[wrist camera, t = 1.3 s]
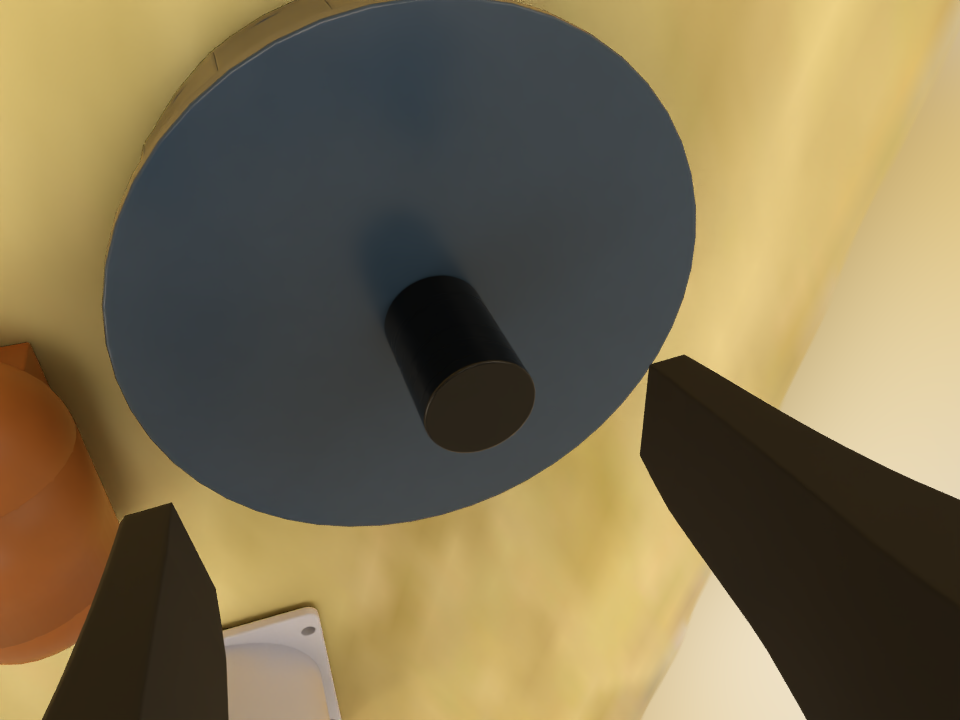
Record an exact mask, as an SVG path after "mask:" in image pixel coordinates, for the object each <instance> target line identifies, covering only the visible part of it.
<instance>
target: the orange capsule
mask: <svg viewBox="0 0 960 720" xmlns="http://www.w3.org/2000/svg"><path fill="white" fill-rule="evenodd" d="M118 527H119V522H118V520H117V517H116V515H115V513H114V510H113V508H112V506H111V504H110V501H109V499H108V497H107V494H106V492H105V490H104V488H103V485H102V483H101V481H100V479H99V476H98V474H97V472H96V469H95V467H94V465H93V463H92V460H91V458H90V456H89V453H88V451H87V449H86V447H85V444H84V442H83V440H82V438H81V435H80V433H79V431H78V428H77V426H76V424H75V422H74V420H73V418H72V416H71V414H70V412H69V411H68V409H67V408H66V406H65V404H64V403H63V401H62V400H61V399H60V398H59V397H58V396H57V395H56V394H55V393H54V392H53V391H52V390H51V389H50V387H49V385H48V382H47V380H46V378H45V376H44V374H43V371H42V369H41V367H40V365H39V362H38V360H37V358H36V356H35V354H34V351H33V349H32V347H31V345H30V343H28V342H26V343H20V344H15V345H9V346H3V347H0V664H1V665H11V664H24V663H29V662H34V661H38V660H41V659H44V658H46V657H49V656H52V655H55V654H57V653H59V652H61V651H63V650H65V649H67V648H69V647H71V646H72V645H74V644H75V643H76V641H77V639H78V637H79V634H80V632H81V629H82V627H83V624H84V622H85V620H86V617H87V615H88V612H89V609H90V607H91V604H92V601H93V599H94V596H95V593H96V591H97V588H98V586H99V583H100V580H101V577H102V574H103V572H104V569H105V566H106V563H107V560H108V557H109V554H110V551H111V549H112V546H113V543H114V540H115V536H116V533H117V530H118Z"/></svg>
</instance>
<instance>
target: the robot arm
mask: <svg viewBox="0 0 960 720" xmlns="http://www.w3.org/2000/svg"><path fill="white" fill-rule="evenodd" d="M640 456H641V458H642V460H643V462H644V464H645V466H646V468H647V470H648V472H649V474H650V476H651V478H652V480H653V482H654V484H655V486H656V487H657V489H658V491H659V493H660V495H661V496H662V498H663V500H664V502H665V504H666V506H667V507H668V509H669V511H670V512H671V514H672V515H673V517H674V518H675V519H676V521H677V522H678V524H679V525H680V527H681V528H682V529H683V531H684V532H685V534H686V535H687V537H688V538H689V539H690V541H691V542H692V544H693V545H694V547H695V548H696V549H697V551H698V552H699V554H700V555H701V556H702V558H703V559H704V561H705V562H706V563H707V565H708V566H709V568H710V569H711V570H712V572H713V573H714V575H715V576H716V577H717V579H718V580H719V581H720V583H721V584H722V586H723V587H724V588H725V590H726V591H727V593H728V594H729V595H730V597H731V598H732V600H733V601H734V602H735V604H736V605H737V607H738V608H739V609H740V610H741V612H742V614H743V615H744V616H745V618H746V619H747V621H748V622H749V623H750V625H751V626H752V628H753V629H754V631H755V633H756V634H757V635H758V637H759V639H760V640H761V642H762V643H763V645H764V646H765V648H766V649H767V651H768V652H769V654H770V656H771V658H772V660H773V661H774V663H775V665H776V666H777V668H778V670H779V672H780V673H781V675H782V677H783V679H784V680H785V682H786V684H787V685H788V687H789V689H790V691H791V693H792V694H793V696H794V698H795V699H796V701H797V703H798V705H799V707H800V708H801V710H802V712H803V714H804V716H805V718H806V719H807V720H960V500H959V499H957V498H954V497H952V496H950V495H947V494H945V493H943V492H940V491H938V490H935V489H933V488H931V487H929V486H926V485H924V484H922V483H919V482H917V481H914V480H912V479H910V478H908V477H906V476H903V475H902V474H899V473H897V472H895V471H893V470H891V469H889V468H887V467H885V466H883V465H881V464H879V463H876V462H875V461H873V460H870V459H869V458H867V457H865V456H863V455H861V454H859V453H857V452H855V451H853V450H851V449H849V448H846V447H845V446H843V445H841V444H839V443H837V442H835V441H834V440H831V439H830V438H828V437H826V436H824V435H822V434H820V433H819V432H817V431H815V430H813V429H811V428H810V427H808V426H806V425H804V424H802V423H800V422H799V421H797V420H795V419H793V418H792V417H790V416H788V415H786V414H785V413H783V412H781V411H780V410H778V409H776V408H774V407H773V406H771V405H769V404H767V403H766V402H764V401H762V400H761V399H759V398H757V397H756V396H754V395H752V394H751V393H749V392H747V391H746V390H744V389H742V388H740V387H739V386H737V385H735V384H734V383H732V382H730V381H729V380H727V379H725V378H724V377H722V376H720V375H719V374H717V373H715V372H714V371H712V370H710V369H709V368H707V367H705V366H703V365H702V364H700V363H698V362H697V361H695V360H693V359H691V358H689V357H688V356H686V355H681V356H678V357H674V358H671V359H667V360H664V361H661V362H657V363H654V364H650V365H649V373H648V382H647V392H646V401H645V411H644V421H643V430H642V440H641V449H640ZM42 720H342V719H341V715H340V710H339V706H338V701H337V696H336V692H335V687H334V683H333V678H332V673H331V669H330V664H329V660H328V655H327V650H326V646H325V641H324V637H323V632H322V627H321V623H320V618H319V614H318V611H317V609H315V608H313V607H304V608H300V609H296V610H293V611H289V612H286V613H282V614H279V615H275V616H272V617H268V618H265V619H261V620H258V621H254V622H251V623H247V624H244V625H240V626H237V627H233V628H230V629H226V630H223V631H222V625H221V619H220V612H219V606H218V600H217V594H216V589H215V587H214V585H213V583H212V581H211V579H210V577H209V575H208V573H207V571H206V569H205V567H204V565H203V563H202V561H201V559H200V557H199V555H198V553H197V551H196V549H195V547H194V545H193V543H192V541H191V539H190V537H189V535H188V533H187V531H186V529H185V527H184V525H183V523H182V521H181V519H180V517H179V515H178V513H177V511H176V509H175V508H174V506H173V504H172V503H168V504H165V505H161V506H158V507H154V508H151V509H148V510H144V511H141V512H137V513H134V514H130V515H127V516H125V517H124V518H123V520H122V521H121V523H120V524H119V527H118V530H117V533H116V536H115V540H114V543H113V546H112V549H111V551H110V554H109V557H108V560H107V563H106V566H105V569H104V572H103V574H102V577H101V580H100V583H99V586H98V588H97V591H96V593H95V596H94V599H93V601H92V604H91V607H90V609H89V612H88V615H87V617H86V620H85V622H84V624H83V627H82V629H81V632H80V634H79V637H78V639H77V641H76V644H75V646H74V649H73V651H72V654H71V656H70V658H69V661H68V663H67V666H66V668H65V670H64V673H63V675H62V677H61V680H60V682H59V684H58V686H57V689H56V691H55V693H54V695H53V697H52V699H51V701H50V704H49V706H48V708H47V710H46V712H45V714H44V716H43V718H42Z"/></svg>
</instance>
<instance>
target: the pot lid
mask: <svg viewBox="0 0 960 720" xmlns="http://www.w3.org/2000/svg"><path fill="white" fill-rule="evenodd" d="M695 238H696V204H695V197H694V190H693V182H692V175H691V171H690V168H689V164H688V161H687V158H686V154H685V151H684V147H683V144H682V141H681V139H680V137H679V135H678V133H677V131H676V128H675V126H674V124H673V122H672V120H671V118H670V116H669V114H668V112H667V110H666V109H665V107H664V106H663V104H662V103H661V102H660V100H659V99H658V97H657V96H656V94H655V93H654V91H653V90H652V89H651V87H650V86H649V84H648V83H647V82H646V81H645V80H644V79H643V78H642V77H641V76H640V75H639V74H638V73H637V72H636V71H635V70H634V68H633V67H632V66H631V65H630V64H629V63H628V62H627V61H626V60H625V59H624V58H623V57H622V56H620V55H619V54H618V53H616V52H615V51H613V50H612V49H611V48H609V47H608V46H607V45H605V44H604V43H602V42H601V41H600V40H598V39H597V38H596V37H594V36H593V35H592V34H590V33H588V32H587V31H585V30H583V29H581V28H579V27H577V26H575V25H573V24H571V23H569V22H567V21H565V20H563V19H561V18H559V17H557V16H555V15H553V14H551V13H549V12H547V11H545V10H541V9H538V8H535V7H532V6H529V5H526V4H522V3H519V2H516V1H513V0H360V1H357V2H354V3H350V4H347V5H344V6H340V7H337V8H334V9H330V10H327V11H324V12H320V13H317V14H315V15H313V16H310V17H308V18H306V19H304V20H302V21H300V22H297V23H295V24H293V25H291V26H289V27H287V28H284V29H282V30H280V31H278V32H276V33H274V34H272V35H270V36H268V37H266V38H265V39H263V40H262V41H260V42H259V43H257V44H256V45H254V46H253V47H251V48H250V49H248V50H246V51H245V52H243V53H242V54H240V55H239V56H237V57H236V58H234V59H233V60H231V61H230V62H228V63H227V64H225V65H224V66H223V67H222V68H221V69H220V70H219V71H217V72H216V73H215V74H214V75H213V76H212V77H211V78H209V79H208V80H207V81H206V82H205V83H204V84H203V85H201V86H200V87H199V88H198V89H197V90H196V91H195V92H193V93H192V94H191V95H190V96H189V97H188V98H187V99H186V101H185V102H184V103H183V104H182V105H181V106H180V108H179V109H178V110H177V111H176V112H175V113H174V115H173V116H172V117H171V118H170V119H169V121H168V122H167V123H166V124H165V125H164V126H163V128H162V129H161V130H160V131H159V132H158V133H157V135H156V137H155V138H154V140H153V141H152V143H151V145H150V146H149V148H148V150H147V151H146V153H145V154H144V156H143V158H142V159H141V161H140V162H139V164H138V166H137V167H136V169H135V171H134V172H133V174H132V176H131V179H130V181H129V183H128V186H127V188H126V191H125V193H124V195H123V198H122V200H121V202H120V205H119V207H118V210H117V212H116V214H115V218H114V222H113V227H112V231H111V235H110V239H109V243H108V247H107V251H106V256H105V269H104V283H103V297H102V311H103V321H104V331H105V341H106V346H107V350H108V353H109V357H110V360H111V364H112V367H113V371H114V375H115V378H116V380H117V383H118V385H119V387H120V389H121V391H122V393H123V395H124V397H125V399H126V402H127V404H128V406H129V408H130V410H131V412H132V413H133V414H134V416H135V417H136V419H137V420H138V422H139V423H140V424H141V426H142V427H143V429H144V430H145V432H146V433H147V434H148V436H149V437H150V439H151V440H152V441H153V442H154V443H155V444H156V445H157V446H158V447H159V448H160V449H161V450H162V451H163V452H164V453H165V454H166V455H167V456H168V458H169V459H170V460H171V461H172V462H173V463H174V464H176V465H177V466H178V467H180V468H181V469H182V470H183V471H185V472H186V473H187V474H189V475H190V476H191V477H193V478H194V479H195V480H196V481H198V482H199V483H201V484H202V485H204V486H206V487H208V488H209V489H211V490H213V491H215V492H216V493H218V494H220V495H222V496H223V497H225V498H227V499H229V500H231V501H234V502H236V503H239V504H241V505H243V506H246V507H248V508H251V509H253V510H255V511H259V512H262V513H266V514H269V515H273V516H276V517H280V518H283V519H287V520H293V521H299V522H305V523H311V524H317V525H331V526H347V527H352V526H380V525H388V524H396V523H404V522H411V521H416V520H421V519H425V518H430V517H434V516H439V515H443V514H446V513H449V512H452V511H456V510H459V509H462V508H465V507H468V506H472V505H474V504H476V503H479V502H481V501H484V500H486V499H489V498H491V497H494V496H496V495H499V494H501V493H503V492H505V491H507V490H509V489H511V488H513V487H515V486H517V485H519V484H521V483H522V482H524V481H526V480H528V479H530V478H531V477H533V476H535V475H536V474H538V473H540V472H541V471H543V470H544V469H546V468H548V467H549V466H551V465H553V464H554V463H555V462H557V461H558V460H559V459H561V458H562V457H564V456H565V455H566V454H568V453H569V452H570V451H572V450H573V449H574V448H576V447H577V446H578V445H580V444H581V443H582V442H583V441H584V440H585V439H586V438H588V437H589V436H590V435H591V434H592V433H593V432H594V431H596V430H597V429H598V428H599V427H600V426H601V425H602V424H603V423H604V422H605V421H606V420H607V419H608V418H609V417H610V416H611V415H612V414H613V413H614V412H615V411H616V410H617V408H618V407H619V406H620V405H621V404H622V403H623V402H624V401H625V399H626V398H627V397H628V396H629V394H630V393H631V392H632V391H633V389H634V388H635V387H636V386H637V384H638V383H639V382H640V381H641V379H642V378H643V376H644V375H645V373H646V372H647V370H648V369H649V365H650V364H652V363H653V361H654V359H655V358H656V356H657V355H658V353H659V351H660V349H661V347H662V345H663V344H664V342H665V340H666V338H667V336H668V334H669V332H670V330H671V328H672V326H673V324H674V321H675V318H676V316H677V313H678V311H679V308H680V306H681V303H682V300H683V298H684V294H685V290H686V287H687V283H688V279H689V275H690V271H691V267H692V260H693V253H694V245H695Z"/></svg>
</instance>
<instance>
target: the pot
mask: <svg viewBox="0 0 960 720" xmlns="http://www.w3.org/2000/svg"><path fill="white" fill-rule="evenodd" d="M357 1H360V0H295V1H293V2H290V3H288V4H286V5H284V6H282V7H280V8H277V9H275V10H273V11H271V12H269V13H267V14H264V15H262V16H261V17H259V18H258V19H256V20H255V21H253V22H252V23H250V24H249V25H247V26H246V27H244V28H242V29H241V30H239V31H238V32H236V33H235V34H233V35H232V36H230V37H229V38H228V39H227V40H226V41H224V42H223V43H222V44H221V45H219V46H218V47H216V48H214V50H213V51H212V52H210V53H209V54H208V56H207V57H206V58H205V59H204V60H203V61H202V62H201V63H200V64H199V65H198V66H197V67H196V69H195V70H194V71H193V72H192V73H191V74H190V76H189V77H188V78H187V79H186V80H185V82H184V83H183V84H182V85H181V86H180V87H179V89H178V90H177V91H176V93H175V94H174V96H173V97H172V99H171V101H170V102H169V104H168V106H167V107H166V109H165V110H164V112H163V114H162V115H161V117H160V119H159V120H158V122H157V124H156V126H155V128H154V130H153V131H152V133H151V134H150V135H149V137H148V138H147V139H146V141H145V144H144V145H143V148H142V154H141V159H142V158H143V156H144V154H145V153H146V151H147V150H148V148H149V146H150V145H151V143H152V141H153V140H154V138H155V137H156V135H157V133H158V132H159V131H160V130H161V129H162V128H163V126H164V125H165V124H166V123H167V122H168V121H169V119H170V118H171V117H172V116H173V115H174V113H175V112H176V111H177V110H178V109H179V108H180V106H181V105H182V104H183V103H184V102H185V101H186V99H187V98H188V97H189V96H190V95H191V94H192V93H193V92H195V91H196V90H197V89H198V88H199V87H200V86H201V85H203V84H204V83H205V82H206V81H207V80H208V79H209V78H211V77H212V76H213V75H214V74H215V73H216V72H217V71H219V70H220V69H221V68H222V67H223V66H224V65H225V64H227V63H228V62H230V61H231V60H233V59H234V58H236V57H237V56H239V55H240V54H242V53H243V52H245V51H246V50H248V49H250V48H251V47H253V46H254V45H256V44H257V43H259V42H260V41H262V40H263V39H265V38H266V37H268V36H270V35H272V34H274V33H276V32H278V31H280V30H282V29H284V28H287V27H289V26H291V25H293V24H295V23H297V22H300V21H302V20H304V19H306V18H308V17H310V16H313V15H315V14H317V13H320V12H324V11H327V10H330V9H334V8H337V7H340V6H344V5H347V4H350V3H354V2H357ZM140 161H141V160H140Z"/></svg>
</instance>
